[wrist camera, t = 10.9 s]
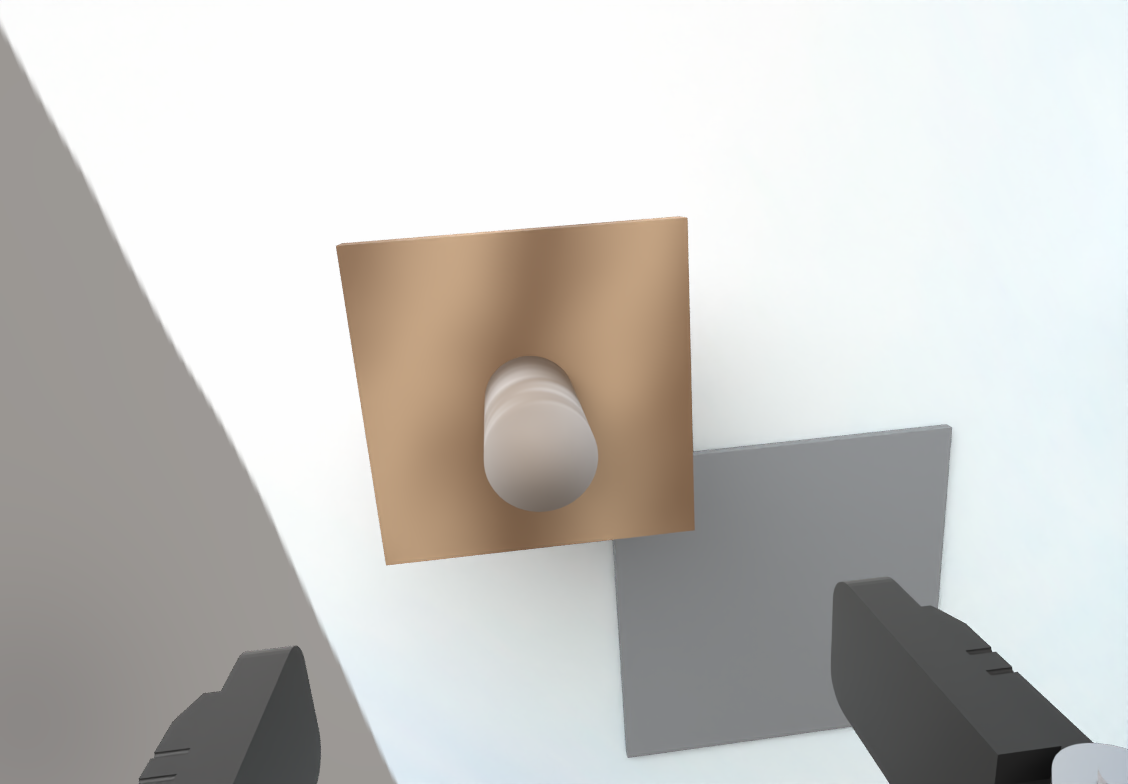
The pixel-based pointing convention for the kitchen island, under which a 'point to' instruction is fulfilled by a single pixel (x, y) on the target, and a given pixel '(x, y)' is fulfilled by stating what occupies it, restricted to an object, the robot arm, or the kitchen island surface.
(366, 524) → the kitchen island surface
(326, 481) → the kitchen island surface
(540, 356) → the lid
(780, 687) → the mat
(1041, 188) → the kitchen island surface
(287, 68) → the kitchen island surface
